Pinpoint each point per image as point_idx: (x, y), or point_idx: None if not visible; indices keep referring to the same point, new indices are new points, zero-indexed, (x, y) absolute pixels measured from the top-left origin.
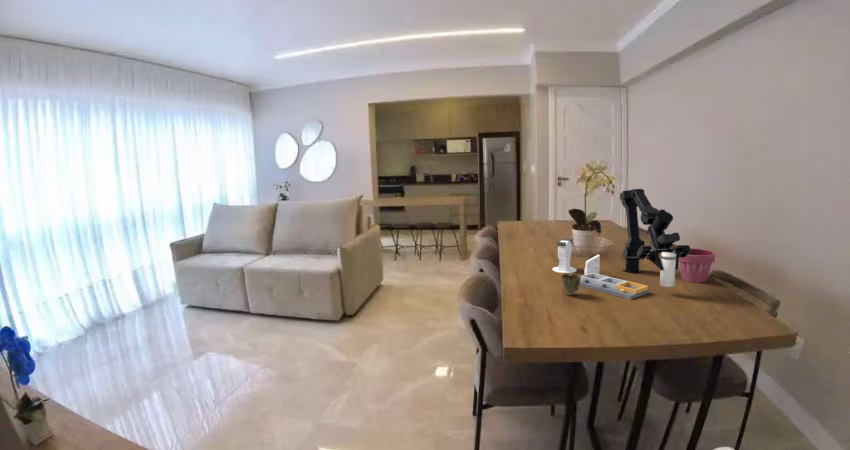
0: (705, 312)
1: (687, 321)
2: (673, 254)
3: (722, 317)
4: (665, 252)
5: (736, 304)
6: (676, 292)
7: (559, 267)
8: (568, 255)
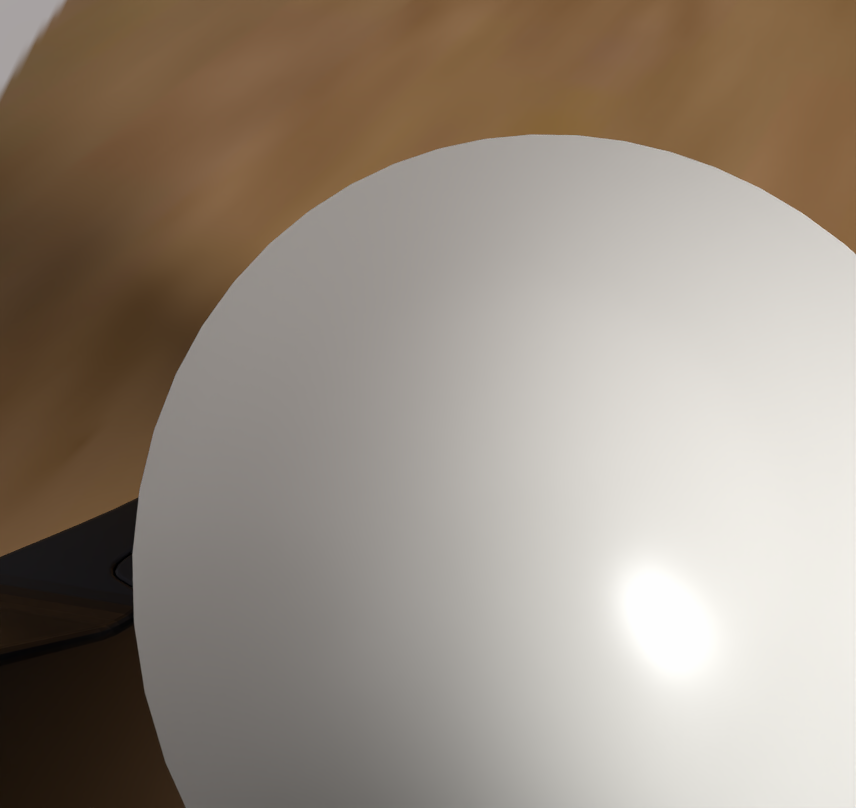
0: (406, 105)
1: (621, 17)
2: (513, 161)
3: (364, 22)
4: (715, 781)
5: (34, 188)
6: None
7: None
8: None
